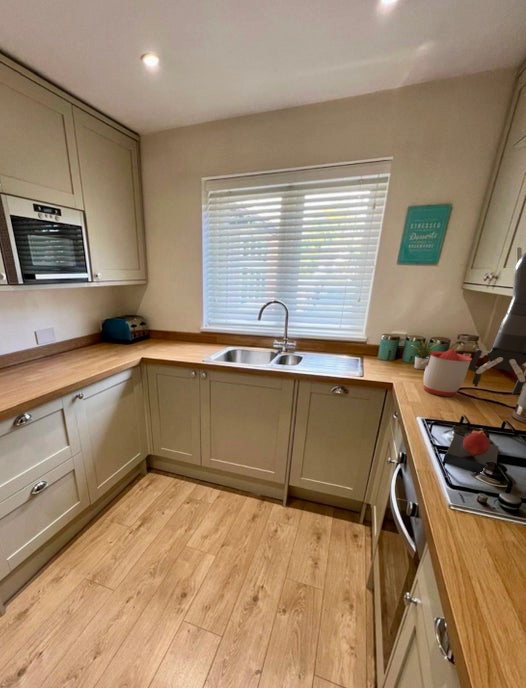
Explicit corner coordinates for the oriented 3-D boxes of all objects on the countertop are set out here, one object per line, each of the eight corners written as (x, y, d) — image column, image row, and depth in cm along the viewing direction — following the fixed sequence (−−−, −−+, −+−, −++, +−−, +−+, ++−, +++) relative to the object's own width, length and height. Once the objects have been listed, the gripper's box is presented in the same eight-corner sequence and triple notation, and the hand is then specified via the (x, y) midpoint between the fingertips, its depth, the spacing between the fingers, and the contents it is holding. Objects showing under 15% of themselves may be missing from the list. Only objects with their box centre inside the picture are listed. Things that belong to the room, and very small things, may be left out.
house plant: (425, 364, 192) (433, 336, 185) (441, 371, 179) (450, 342, 173) (401, 364, 191) (409, 336, 185) (416, 371, 178) (424, 341, 172)
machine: (451, 441, 106) (456, 428, 104) (495, 454, 100) (501, 440, 98) (443, 462, 94) (448, 447, 93) (491, 478, 88) (498, 462, 86)
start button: (470, 434, 101) (472, 429, 100) (483, 438, 99) (485, 433, 98) (469, 438, 99) (471, 433, 98) (483, 442, 97) (485, 437, 96)
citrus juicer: (416, 383, 160) (428, 342, 153) (459, 391, 151) (474, 348, 143) (412, 392, 148) (425, 348, 141) (459, 401, 139) (475, 355, 132)
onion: (454, 450, 95) (463, 425, 92) (472, 450, 95) (481, 425, 92) (471, 461, 89) (481, 435, 86) (490, 461, 90) (500, 435, 87)
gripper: (552, 334, 85) (526, 393, 91) (484, 326, 93) (464, 380, 100) (555, 338, 80) (527, 400, 86) (482, 329, 88) (462, 386, 94)
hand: (494, 389), depth 93 cm, fingers open, 8 cm apart
